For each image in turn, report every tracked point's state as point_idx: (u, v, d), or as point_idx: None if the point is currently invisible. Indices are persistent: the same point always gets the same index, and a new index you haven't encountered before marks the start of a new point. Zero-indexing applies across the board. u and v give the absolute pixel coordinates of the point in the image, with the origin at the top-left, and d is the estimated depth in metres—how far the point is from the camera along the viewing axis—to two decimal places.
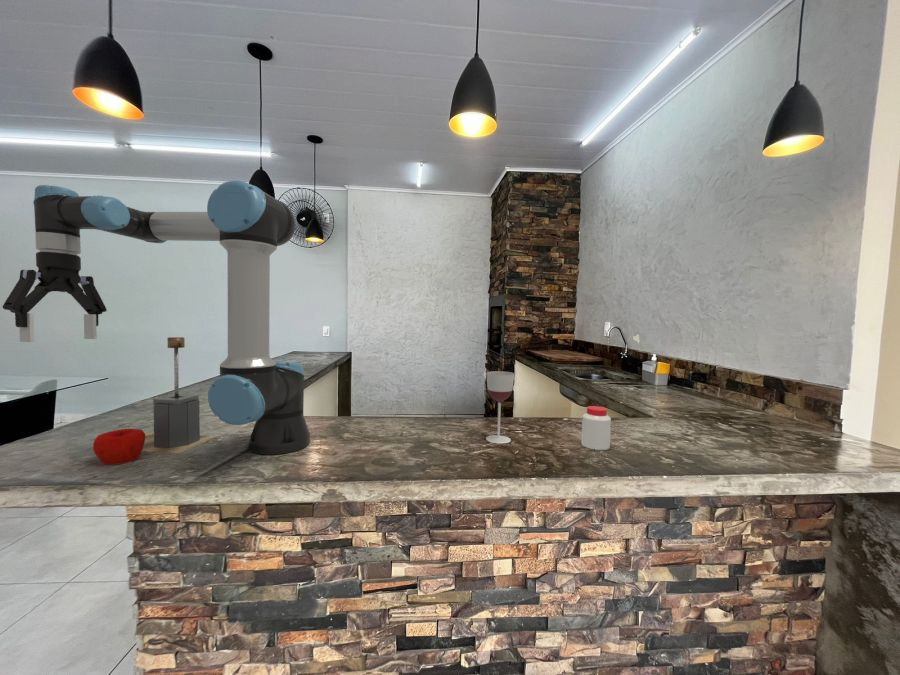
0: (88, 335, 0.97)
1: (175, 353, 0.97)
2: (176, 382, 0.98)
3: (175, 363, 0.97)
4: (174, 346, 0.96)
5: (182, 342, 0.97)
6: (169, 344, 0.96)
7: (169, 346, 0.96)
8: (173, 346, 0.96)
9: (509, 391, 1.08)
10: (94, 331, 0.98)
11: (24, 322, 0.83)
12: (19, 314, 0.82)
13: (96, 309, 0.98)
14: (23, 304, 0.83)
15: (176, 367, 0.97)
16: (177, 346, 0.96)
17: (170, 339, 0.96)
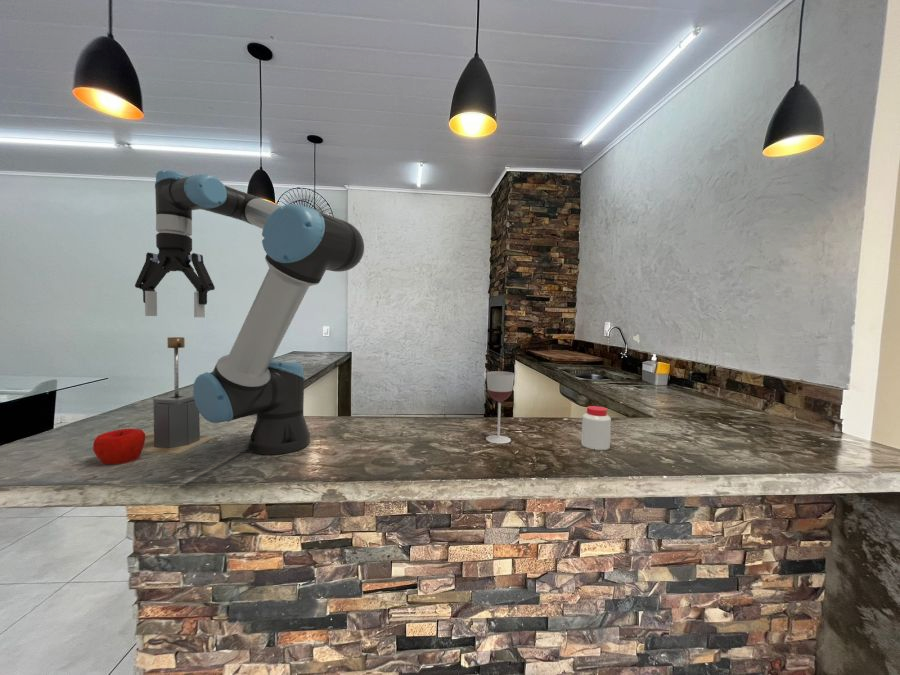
0: None
1: (175, 353, 0.97)
2: (176, 382, 0.98)
3: (175, 363, 0.97)
4: (174, 346, 0.96)
5: (182, 342, 0.97)
6: (169, 344, 0.96)
7: (169, 346, 0.96)
8: (173, 346, 0.96)
9: (509, 391, 1.08)
10: (195, 309, 0.95)
11: None
12: None
13: (198, 286, 0.95)
14: None
15: (176, 367, 0.97)
16: (177, 346, 0.96)
17: (170, 339, 0.96)
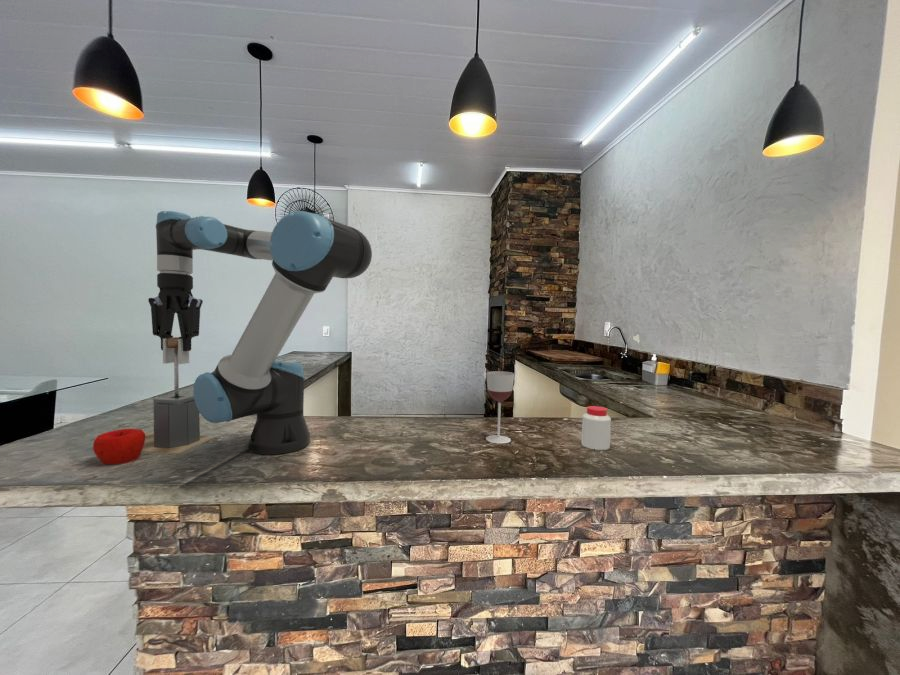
0: None
1: (175, 353, 0.97)
2: (176, 382, 0.98)
3: (175, 363, 0.97)
4: (174, 346, 0.96)
5: None
6: (169, 344, 0.96)
7: (169, 346, 0.96)
8: (173, 346, 0.96)
9: (509, 391, 1.08)
10: (179, 356, 0.96)
11: (163, 346, 0.97)
12: None
13: (183, 333, 0.96)
14: None
15: (176, 367, 0.97)
16: (177, 346, 0.96)
17: (170, 339, 0.96)
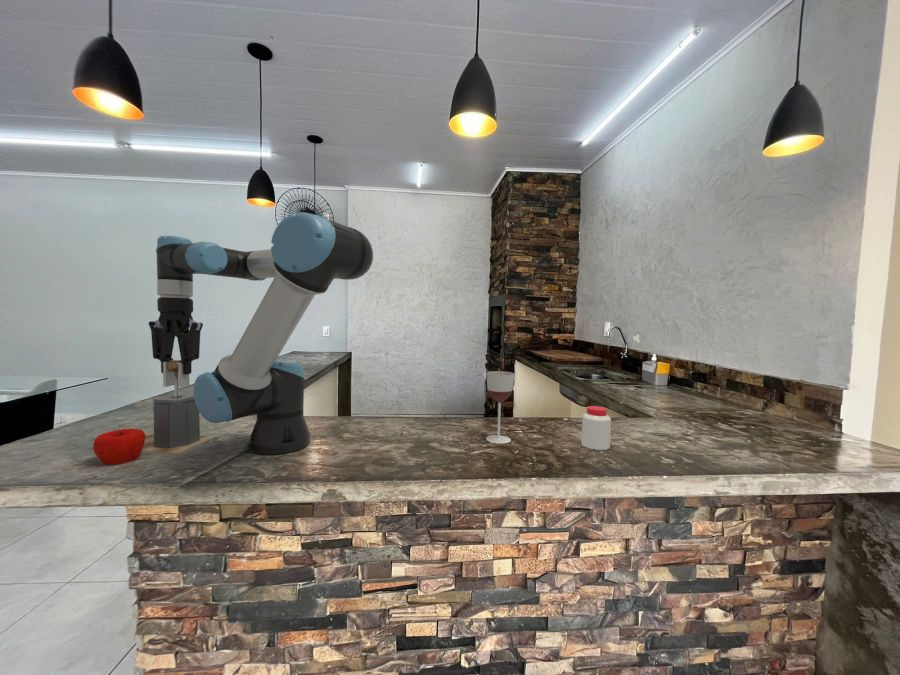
0: None
1: (175, 376, 0.97)
2: None
3: (175, 386, 0.98)
4: (174, 370, 0.96)
5: None
6: (169, 368, 0.96)
7: (169, 370, 0.96)
8: (173, 370, 0.96)
9: (509, 391, 1.08)
10: (179, 379, 0.96)
11: None
12: None
13: (183, 357, 0.96)
14: None
15: (176, 390, 0.98)
16: (177, 369, 0.96)
17: (170, 363, 0.96)
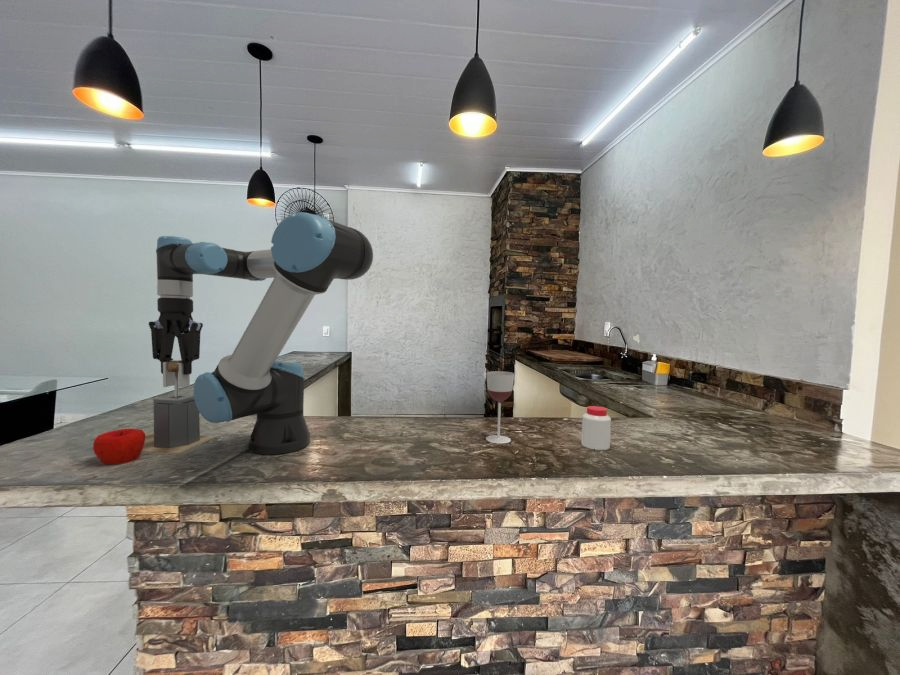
0: None
1: (175, 376, 0.97)
2: None
3: (175, 386, 0.98)
4: (174, 370, 0.96)
5: None
6: (169, 368, 0.96)
7: (169, 370, 0.96)
8: (173, 370, 0.96)
9: (509, 391, 1.08)
10: (179, 380, 0.96)
11: None
12: None
13: (184, 357, 0.96)
14: None
15: (176, 390, 0.98)
16: (177, 370, 0.96)
17: (170, 363, 0.96)
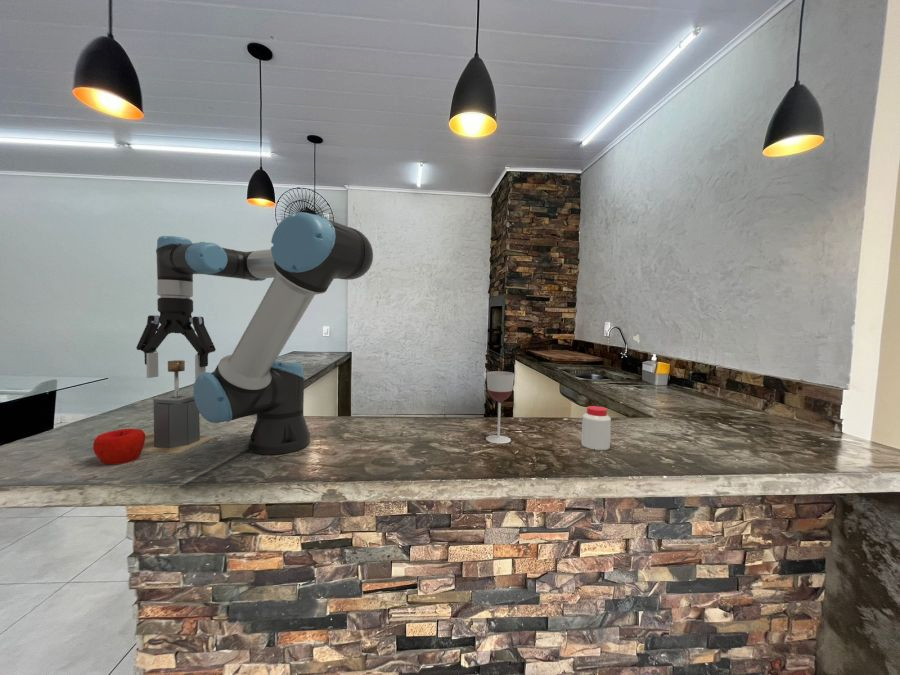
0: None
1: (175, 376, 0.97)
2: None
3: (175, 386, 0.98)
4: (174, 370, 0.96)
5: (182, 365, 0.98)
6: (169, 368, 0.96)
7: (169, 370, 0.96)
8: (173, 370, 0.96)
9: (509, 391, 1.08)
10: (196, 372, 0.96)
11: (146, 360, 0.98)
12: None
13: (199, 349, 0.96)
14: None
15: (176, 390, 0.98)
16: (177, 370, 0.96)
17: (170, 363, 0.96)
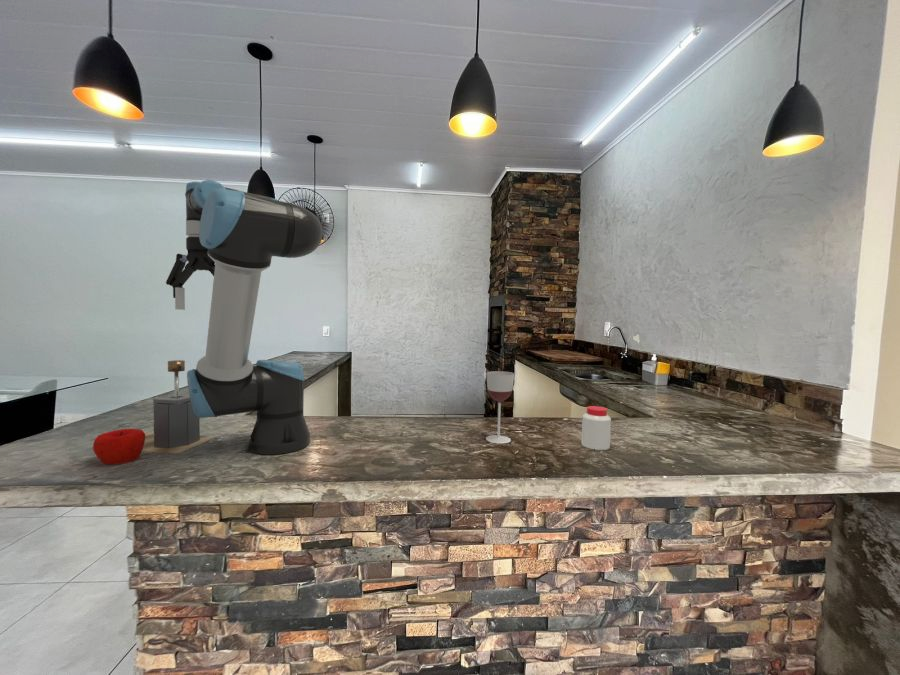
0: None
1: (175, 376, 0.97)
2: None
3: (175, 386, 0.98)
4: (174, 370, 0.96)
5: (182, 365, 0.98)
6: (169, 368, 0.96)
7: (169, 370, 0.96)
8: (173, 370, 0.96)
9: (509, 391, 1.08)
10: None
11: None
12: None
13: None
14: None
15: (176, 390, 0.98)
16: (177, 370, 0.96)
17: (170, 363, 0.96)
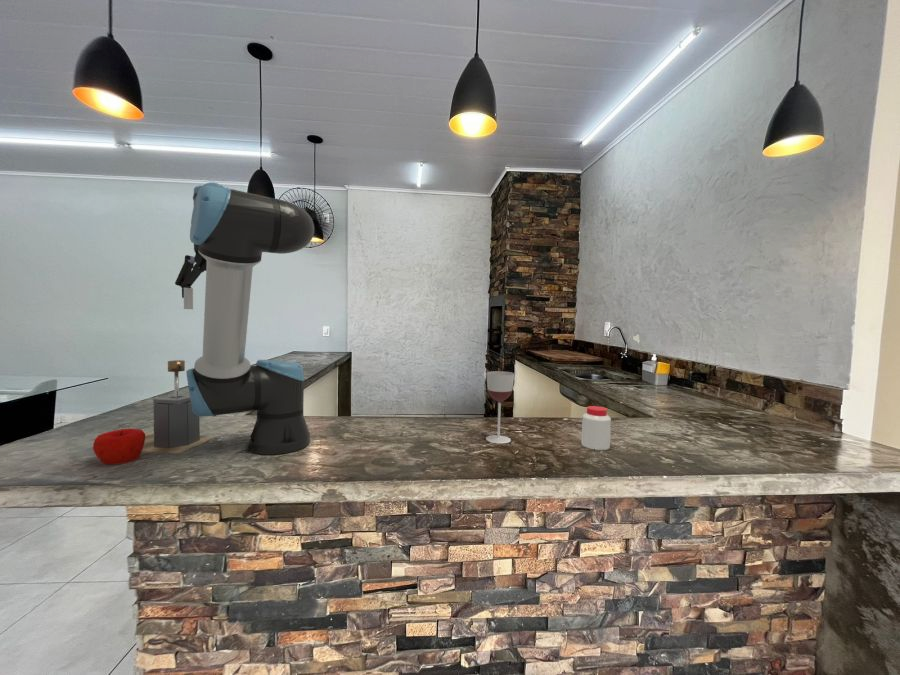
0: None
1: (175, 376, 0.97)
2: None
3: (175, 386, 0.98)
4: (174, 370, 0.96)
5: (182, 365, 0.98)
6: (169, 368, 0.96)
7: (169, 370, 0.96)
8: (173, 370, 0.96)
9: (509, 391, 1.08)
10: None
11: (183, 294, 1.14)
12: None
13: None
14: None
15: (176, 390, 0.98)
16: (177, 370, 0.96)
17: (170, 363, 0.96)
